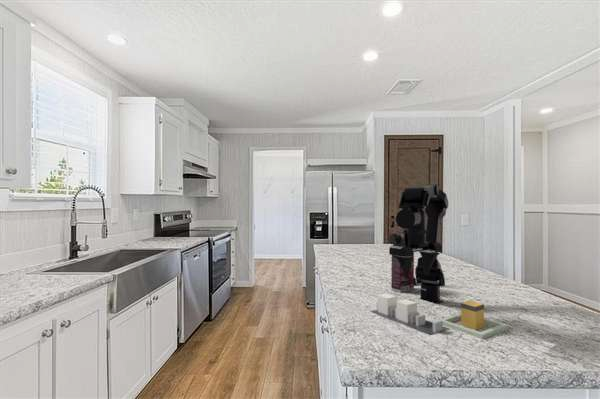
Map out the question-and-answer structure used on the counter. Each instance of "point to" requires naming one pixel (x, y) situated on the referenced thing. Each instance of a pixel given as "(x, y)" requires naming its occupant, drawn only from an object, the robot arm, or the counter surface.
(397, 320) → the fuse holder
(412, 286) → the supplement box
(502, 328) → the tray
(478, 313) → the block
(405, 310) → the block
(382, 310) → the block
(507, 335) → the counter surface
